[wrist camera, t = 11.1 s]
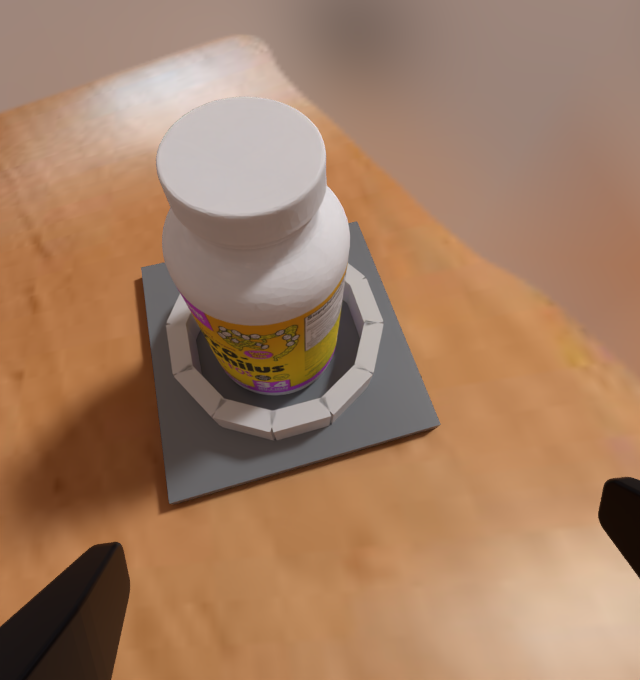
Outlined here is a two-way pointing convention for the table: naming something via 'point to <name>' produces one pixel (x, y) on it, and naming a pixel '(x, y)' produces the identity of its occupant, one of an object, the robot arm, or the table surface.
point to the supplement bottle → (255, 239)
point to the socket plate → (280, 410)
